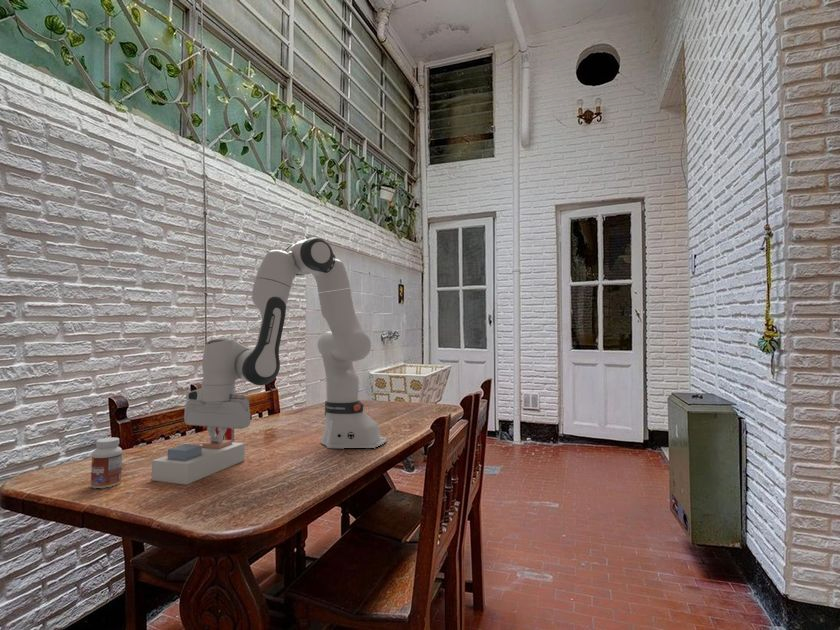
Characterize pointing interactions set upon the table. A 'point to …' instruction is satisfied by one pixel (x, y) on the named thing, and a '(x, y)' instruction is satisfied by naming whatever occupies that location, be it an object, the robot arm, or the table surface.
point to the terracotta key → (217, 444)
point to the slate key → (184, 452)
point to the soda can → (227, 434)
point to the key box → (197, 464)
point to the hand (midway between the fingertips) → (216, 442)
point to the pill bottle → (106, 463)
